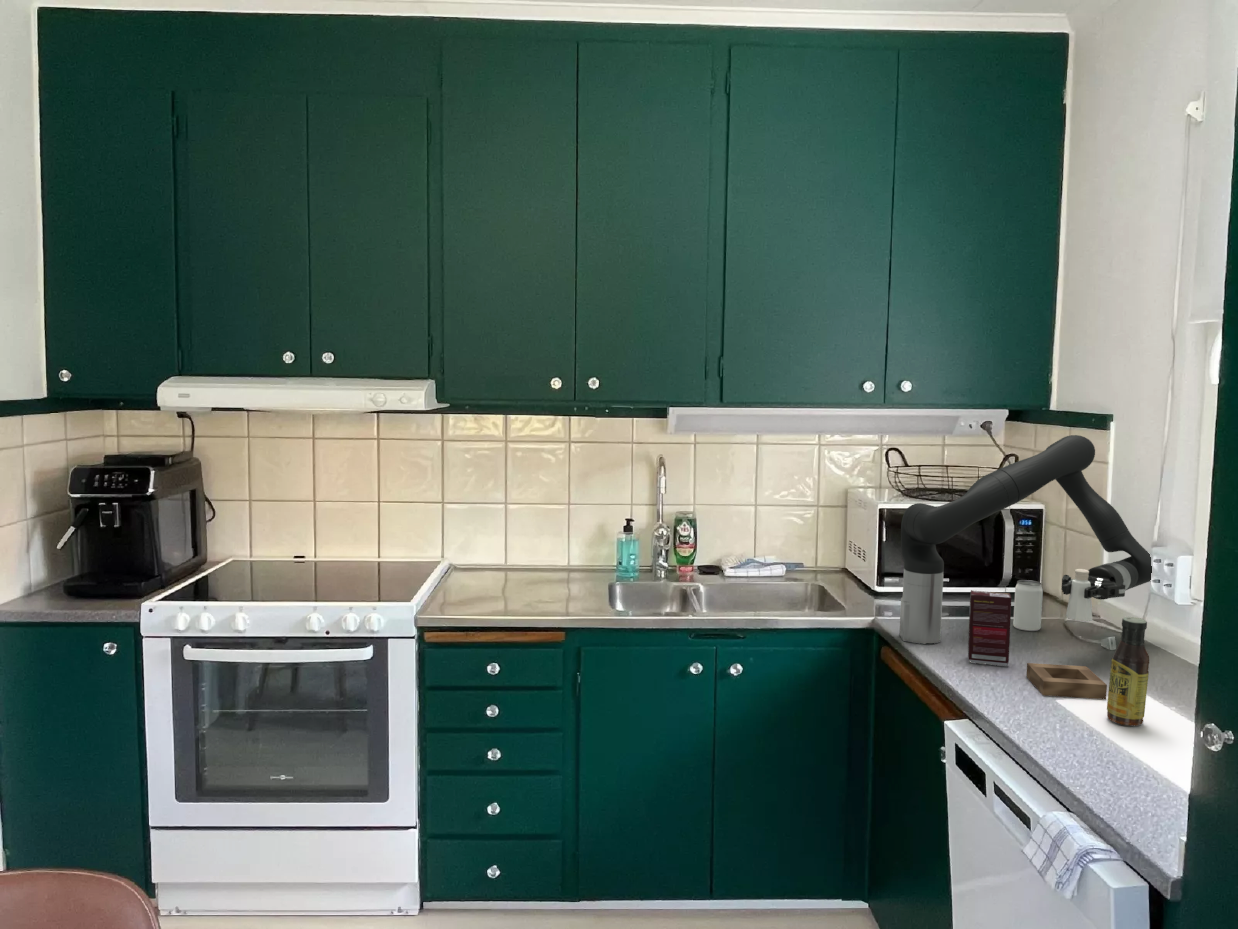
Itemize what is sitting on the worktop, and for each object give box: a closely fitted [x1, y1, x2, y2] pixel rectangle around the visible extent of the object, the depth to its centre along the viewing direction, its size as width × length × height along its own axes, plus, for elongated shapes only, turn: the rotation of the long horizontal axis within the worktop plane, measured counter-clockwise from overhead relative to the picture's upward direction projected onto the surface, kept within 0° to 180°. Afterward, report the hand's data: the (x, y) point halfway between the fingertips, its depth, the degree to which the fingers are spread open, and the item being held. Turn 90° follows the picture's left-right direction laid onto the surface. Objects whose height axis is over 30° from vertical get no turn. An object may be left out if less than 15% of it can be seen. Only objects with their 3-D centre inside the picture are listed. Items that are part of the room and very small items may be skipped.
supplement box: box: [967, 589, 1012, 668], centre depth 209 cm, size 9×5×16 cm, turn 71°
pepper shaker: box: [1065, 568, 1093, 623], centre depth 205 cm, size 5×5×11 cm
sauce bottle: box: [1106, 616, 1150, 727], centre depth 173 cm, size 6×6×20 cm
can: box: [1012, 579, 1044, 632], centre depth 238 cm, size 6×6×12 cm
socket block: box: [1025, 662, 1108, 700], centre depth 193 cm, size 12×12×3 cm
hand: (1075, 591), depth 203 cm, fingers closed on pepper shaker, 4 cm apart
